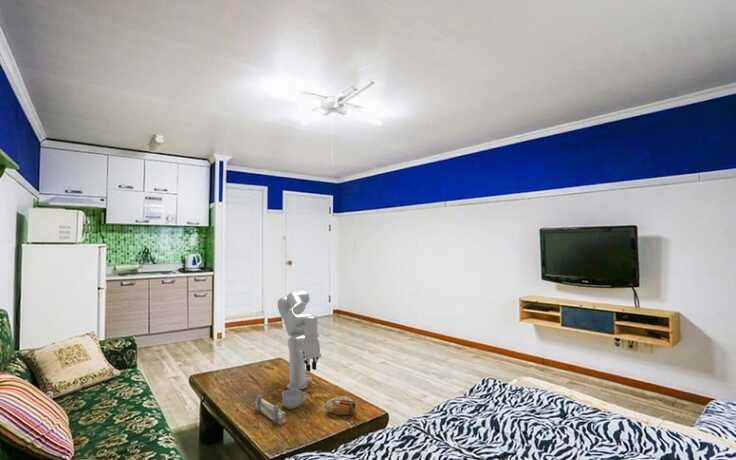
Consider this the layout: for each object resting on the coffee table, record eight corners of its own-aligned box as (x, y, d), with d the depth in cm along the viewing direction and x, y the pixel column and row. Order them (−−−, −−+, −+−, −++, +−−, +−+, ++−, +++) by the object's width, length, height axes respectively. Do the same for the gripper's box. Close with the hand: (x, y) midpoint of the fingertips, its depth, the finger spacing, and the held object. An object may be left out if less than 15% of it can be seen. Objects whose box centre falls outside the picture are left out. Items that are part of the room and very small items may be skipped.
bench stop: (260, 407, 204) (260, 392, 204) (285, 423, 185) (285, 406, 185) (253, 409, 201) (253, 394, 201) (277, 426, 182) (277, 409, 182)
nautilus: (367, 418, 189) (343, 429, 180) (344, 402, 206) (320, 411, 197) (367, 403, 189) (343, 413, 180) (343, 388, 206) (320, 397, 197)
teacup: (278, 409, 200) (278, 394, 200) (287, 401, 210) (287, 387, 211) (302, 412, 197) (302, 396, 197) (310, 403, 207) (310, 389, 207)
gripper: (318, 334, 221) (319, 365, 220) (295, 339, 210) (295, 372, 209) (326, 336, 215) (326, 368, 215) (302, 341, 204) (302, 375, 203)
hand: (311, 370), depth 212 cm, fingers open, 3 cm apart
